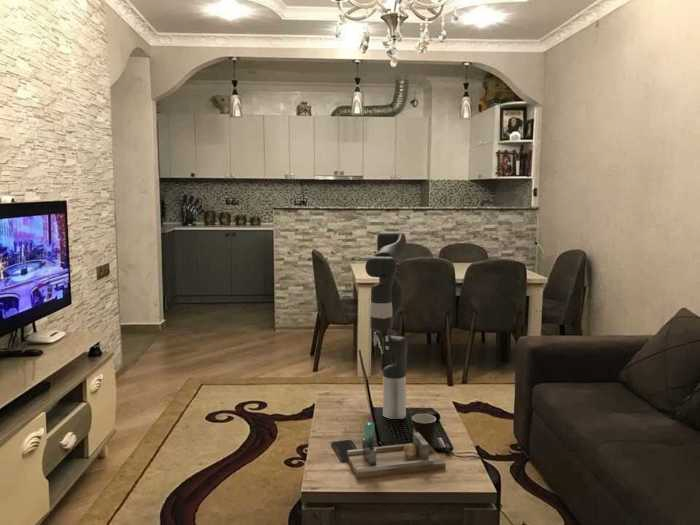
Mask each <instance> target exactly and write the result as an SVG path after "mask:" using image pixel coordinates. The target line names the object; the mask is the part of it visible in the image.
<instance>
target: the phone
mask: <svg viewBox="0 0 700 525" xmlns="http://www.w3.org/2000/svg"><path fill="white" fill-rule="evenodd" d="M330 445H331V448H332V449H333V450H334V452H335V454H336V456H337V458H338V460H339V461H340V462H341V463H346V462H347V463H349V462H348V458H347V450H355V449H358V447H357V446H356V444H355V443H354V441H353V440H351V439H345V440H337V441H332V442H331V444H330Z"/></svg>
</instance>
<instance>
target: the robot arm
mask: <svg viewBox="0 0 700 525" xmlns="http://www.w3.org/2000/svg"><path fill="white" fill-rule="evenodd" d="M376 239H377V240H376V247H377V248H376V249H377V253H374V254H372V255H370V256H369V257H368V258H367V260H366V261H365V267H364V268H365V272H366V274H367V275H368V276H369V277H371V278H378V283H375V284H372V286H371V288H370V308H369V309H370V316H369V317H370V325H369V326H370V328H371V329H372V344H373V347H374V358H381V365H386V366H384V368H383V369H382V417H383V416H384V417H386V418H389V419H401V420H403V419H405V418H406V416H407V415H406V414H407V411H406V410H407V406H406V405H407V404H406V403H407V402H406V400H407V391H406V390H407V388H406V387H407V386H406V385H407V374H406V373H407V363H408V362H407V358H408V357H407V356H408V340H407V338H406V337H405V336H400V335H398V336H397V335H391V334H390V331H391V329H392V328H393V321H394V320H395V319H396V316H398V313H399V312H400V311H401V309H402V307H403V301H404V300H403V286H402V284H401V282H400V281H399V280H398V278H397V277H396V273H397V270H398V263H397V260H398V258H400V257H402V256H403V255H404V253H405V252H406V248H407V238H406V235H405V233H404V232H403V231H380V232H379V233H378V234H377V238H376ZM389 359H390V360H391V359H392V360H396V361H395V363H393V364H389ZM388 364H389V365H388ZM384 417H383V418H384ZM386 418H385V419H386ZM389 419H388V420H389Z"/></svg>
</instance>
